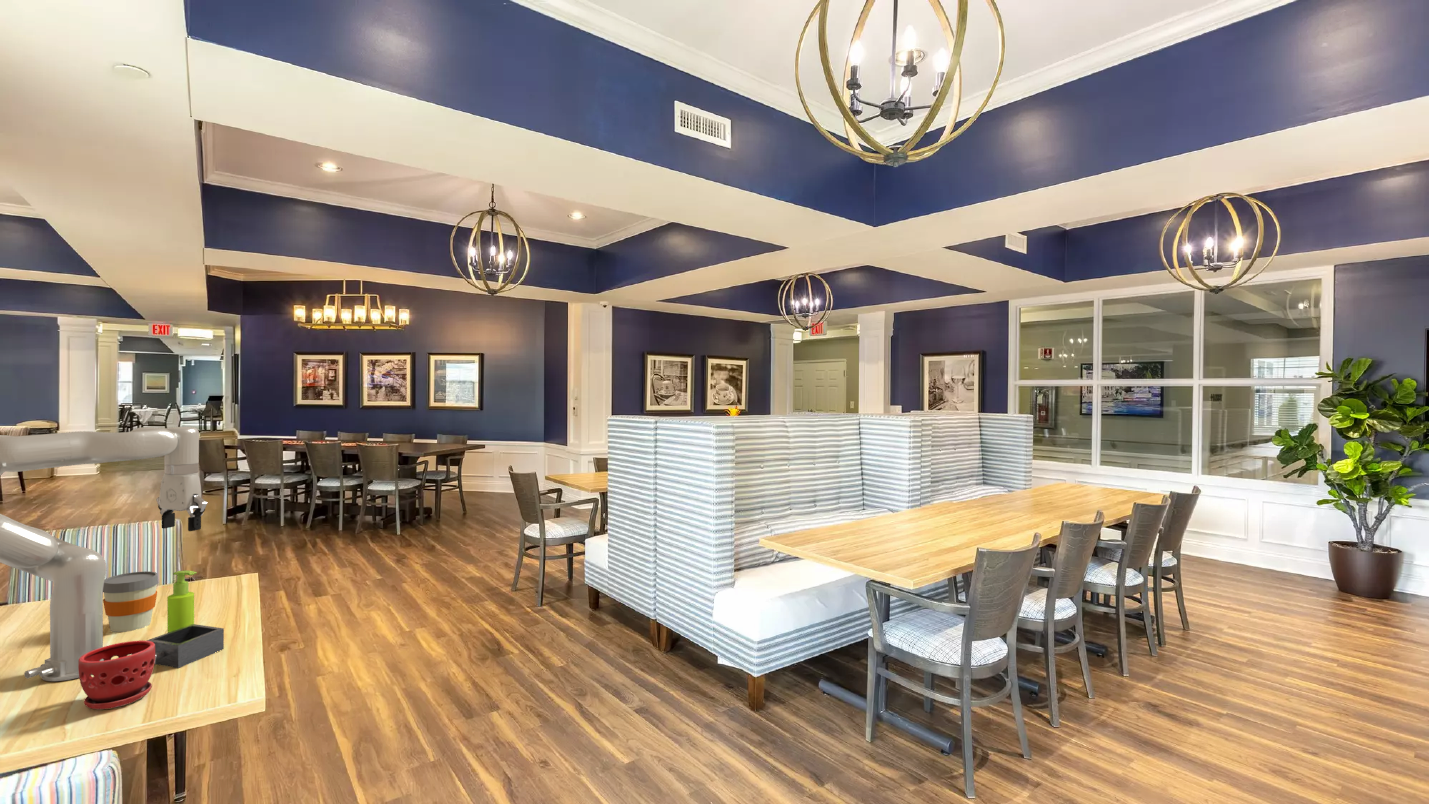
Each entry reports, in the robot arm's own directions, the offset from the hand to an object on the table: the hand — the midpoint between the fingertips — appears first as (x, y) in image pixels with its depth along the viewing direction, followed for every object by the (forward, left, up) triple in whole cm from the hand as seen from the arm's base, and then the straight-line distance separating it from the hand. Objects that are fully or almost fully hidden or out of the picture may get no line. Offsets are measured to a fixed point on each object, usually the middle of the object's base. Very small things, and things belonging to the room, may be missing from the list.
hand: (181, 528), depth 180 cm
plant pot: (-30, -21, -33) cm, 49 cm away
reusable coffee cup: (+3, +24, -33) cm, 40 cm away
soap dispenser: (0, -1, -33) cm, 33 cm away
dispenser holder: (-10, -12, -32) cm, 36 cm away
